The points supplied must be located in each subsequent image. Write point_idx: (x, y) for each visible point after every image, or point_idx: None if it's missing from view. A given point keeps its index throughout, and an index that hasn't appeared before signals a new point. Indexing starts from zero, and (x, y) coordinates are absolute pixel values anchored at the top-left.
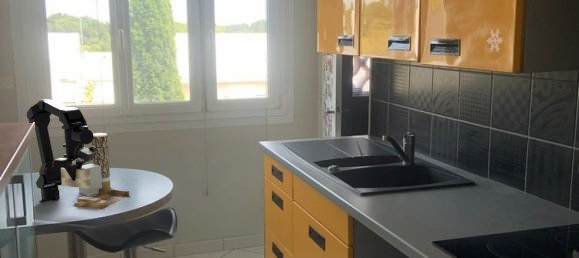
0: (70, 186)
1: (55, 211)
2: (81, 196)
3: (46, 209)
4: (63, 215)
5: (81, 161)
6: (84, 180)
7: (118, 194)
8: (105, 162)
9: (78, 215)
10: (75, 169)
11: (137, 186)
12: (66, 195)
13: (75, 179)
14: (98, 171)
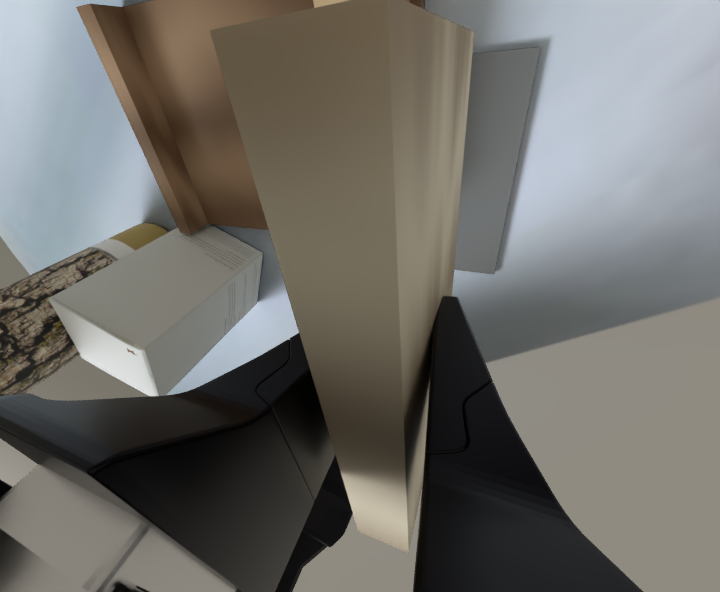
0: None
1: (499, 291)
2: None
3: None
4: (583, 208)
5: (107, 508)
6: (452, 131)
7: (153, 96)
8: (8, 300)
9: (583, 90)
10: (446, 440)
11: (37, 119)
12: (289, 338)
13: (443, 301)
14: (99, 286)
